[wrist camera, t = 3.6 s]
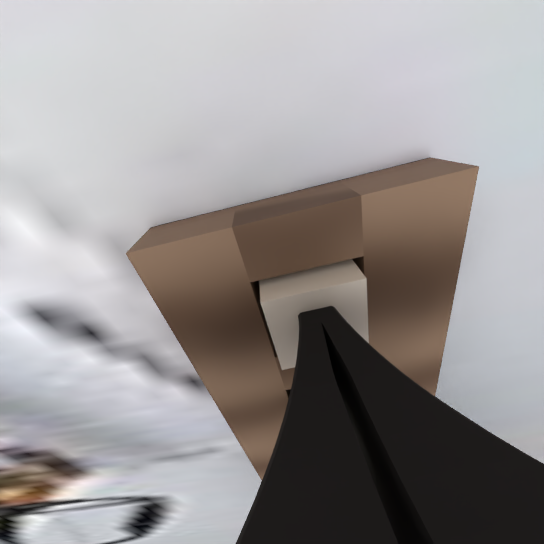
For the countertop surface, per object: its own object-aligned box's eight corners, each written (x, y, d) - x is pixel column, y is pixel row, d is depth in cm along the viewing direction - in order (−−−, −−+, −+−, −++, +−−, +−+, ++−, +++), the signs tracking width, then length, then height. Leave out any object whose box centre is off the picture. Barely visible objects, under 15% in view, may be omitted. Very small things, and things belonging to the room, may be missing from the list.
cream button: (345, 307, 13) (369, 351, 11) (276, 322, 13) (281, 370, 11) (340, 243, 11) (366, 278, 9) (258, 262, 11) (260, 302, 9)
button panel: (403, 437, 22) (420, 471, 20) (270, 462, 22) (272, 498, 20) (430, 157, 10) (479, 166, 8) (150, 227, 11) (125, 253, 9)
